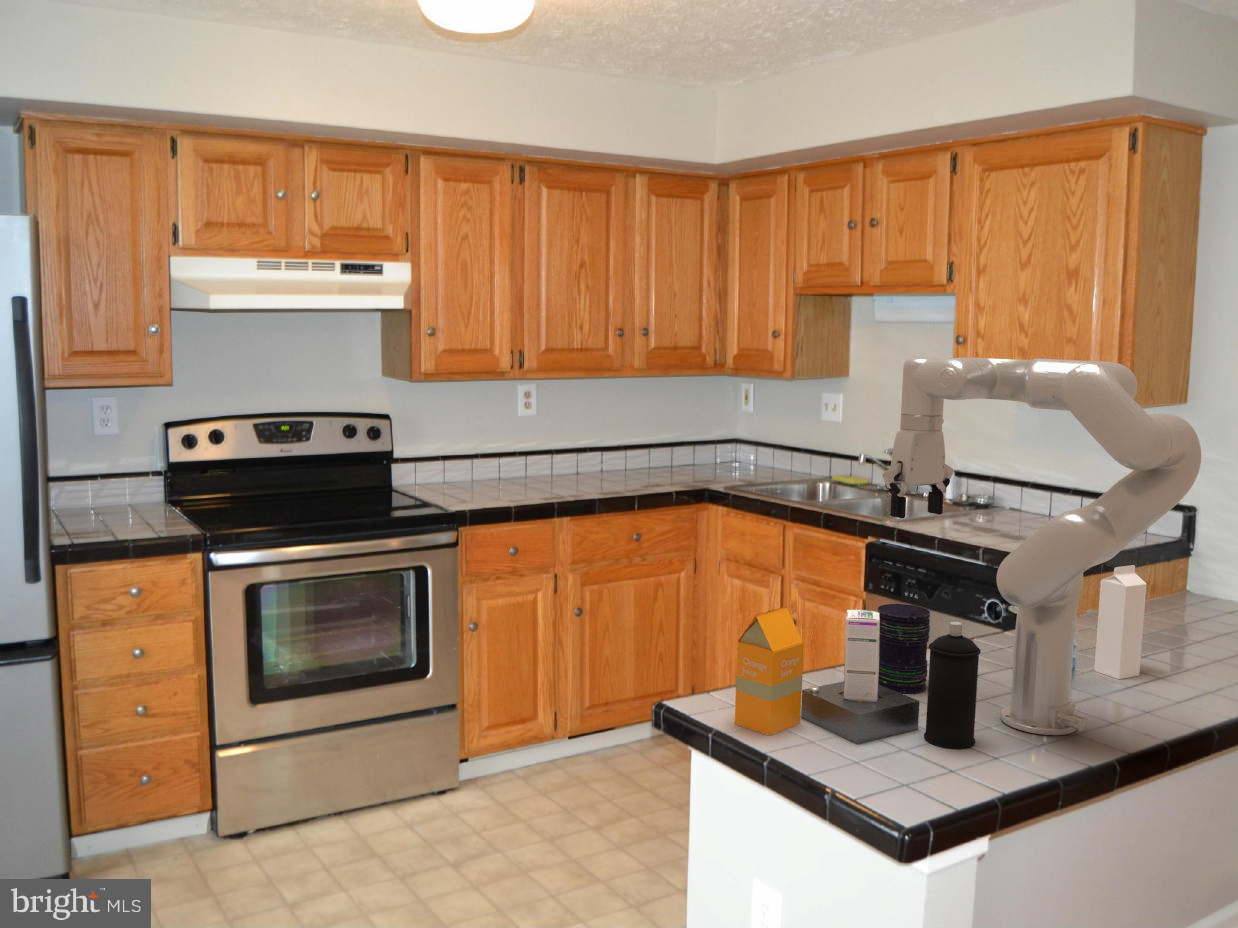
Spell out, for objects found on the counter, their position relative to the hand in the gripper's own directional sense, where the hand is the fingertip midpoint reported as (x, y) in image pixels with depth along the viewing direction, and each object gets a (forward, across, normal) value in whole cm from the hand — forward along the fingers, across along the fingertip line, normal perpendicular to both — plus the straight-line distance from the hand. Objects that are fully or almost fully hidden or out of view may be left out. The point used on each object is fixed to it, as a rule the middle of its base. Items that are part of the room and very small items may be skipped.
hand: (916, 515), depth 203 cm
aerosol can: (+34, +14, +23) cm, 43 cm away
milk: (+34, -44, +14) cm, 57 cm away
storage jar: (+34, +1, -1) cm, 34 cm away
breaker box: (+33, +22, +10) cm, 41 cm away
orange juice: (+34, +36, +2) cm, 49 cm away
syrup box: (+28, +22, +10) cm, 38 cm away
